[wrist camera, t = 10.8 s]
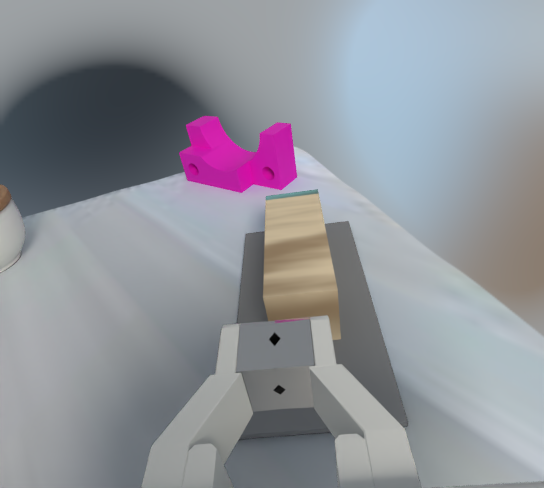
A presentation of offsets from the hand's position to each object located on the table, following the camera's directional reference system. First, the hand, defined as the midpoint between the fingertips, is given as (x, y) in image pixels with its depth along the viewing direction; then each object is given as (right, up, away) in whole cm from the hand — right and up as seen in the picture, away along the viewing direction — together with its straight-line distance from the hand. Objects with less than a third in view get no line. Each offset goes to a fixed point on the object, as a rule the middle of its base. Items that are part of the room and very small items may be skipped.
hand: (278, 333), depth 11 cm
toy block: (-5, +11, +43) cm, 45 cm away
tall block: (+2, -3, +16) cm, 16 cm away
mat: (+3, -3, +21) cm, 22 cm away
